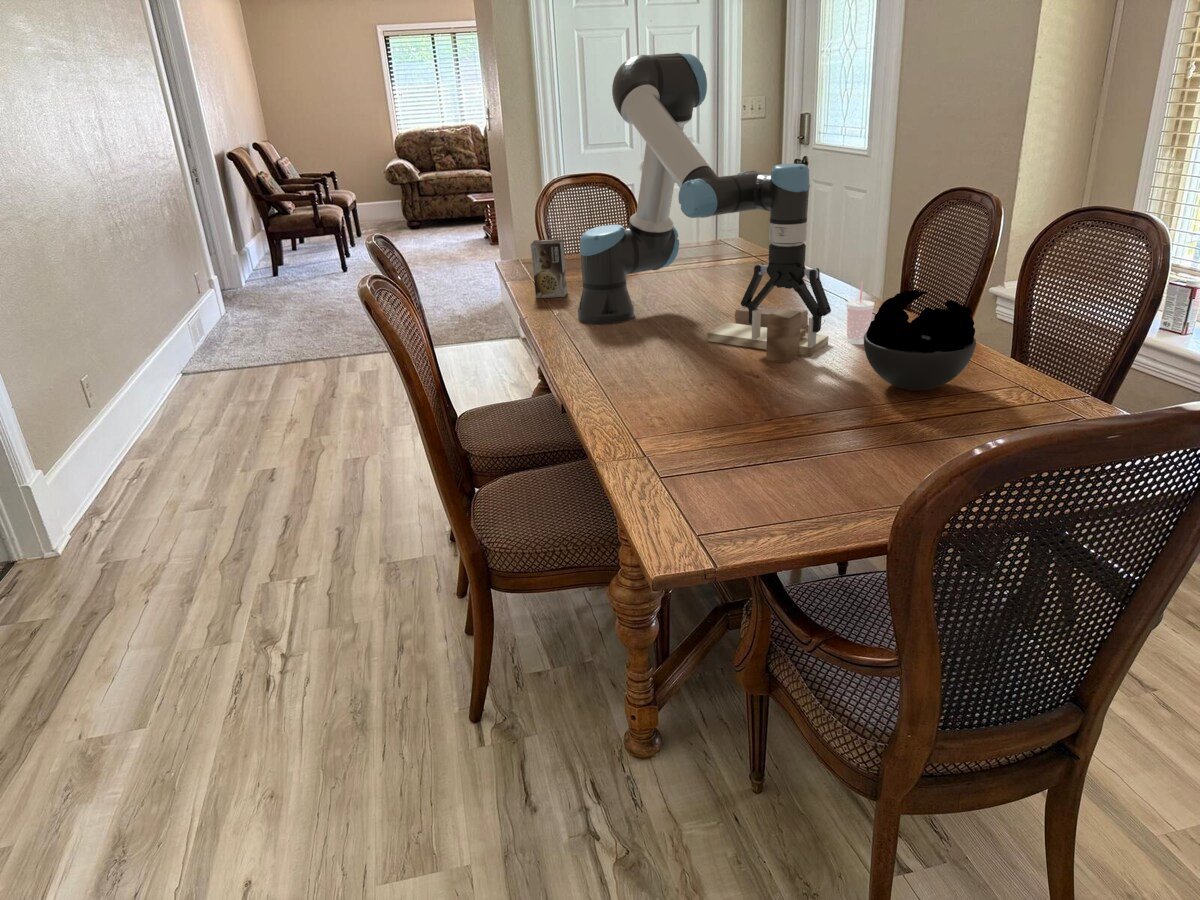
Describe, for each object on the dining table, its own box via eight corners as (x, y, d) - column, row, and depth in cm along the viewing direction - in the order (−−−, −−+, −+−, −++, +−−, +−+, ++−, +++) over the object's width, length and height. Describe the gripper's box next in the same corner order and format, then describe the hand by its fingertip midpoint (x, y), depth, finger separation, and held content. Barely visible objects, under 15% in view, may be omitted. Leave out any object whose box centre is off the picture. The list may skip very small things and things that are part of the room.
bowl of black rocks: (848, 372, 166) (855, 282, 158) (946, 368, 165) (958, 277, 157) (875, 408, 148) (885, 308, 140) (986, 404, 147) (1002, 303, 139)
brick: (808, 325, 200) (809, 307, 198) (796, 334, 193) (797, 315, 191) (747, 319, 208) (747, 301, 206) (733, 327, 202) (733, 309, 200)
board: (707, 340, 191) (707, 332, 190) (727, 330, 198) (727, 322, 198) (810, 356, 177) (810, 347, 176) (827, 344, 184) (828, 335, 183)
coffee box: (567, 292, 244) (564, 238, 238) (564, 297, 239) (561, 242, 232) (538, 293, 245) (533, 239, 239) (534, 298, 240) (530, 243, 233)
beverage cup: (851, 336, 189) (856, 276, 183) (876, 340, 185) (881, 280, 179) (838, 342, 185) (842, 282, 179) (862, 347, 181) (867, 285, 175)
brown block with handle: (766, 359, 176) (767, 315, 172) (790, 344, 186) (792, 301, 181) (787, 363, 173) (789, 318, 169) (811, 347, 183) (813, 303, 179)
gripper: (726, 242, 171) (725, 339, 180) (837, 250, 157) (830, 354, 166) (742, 236, 176) (740, 330, 185) (851, 243, 162) (844, 344, 171)
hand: (783, 342), depth 176 cm, fingers open, 12 cm apart
